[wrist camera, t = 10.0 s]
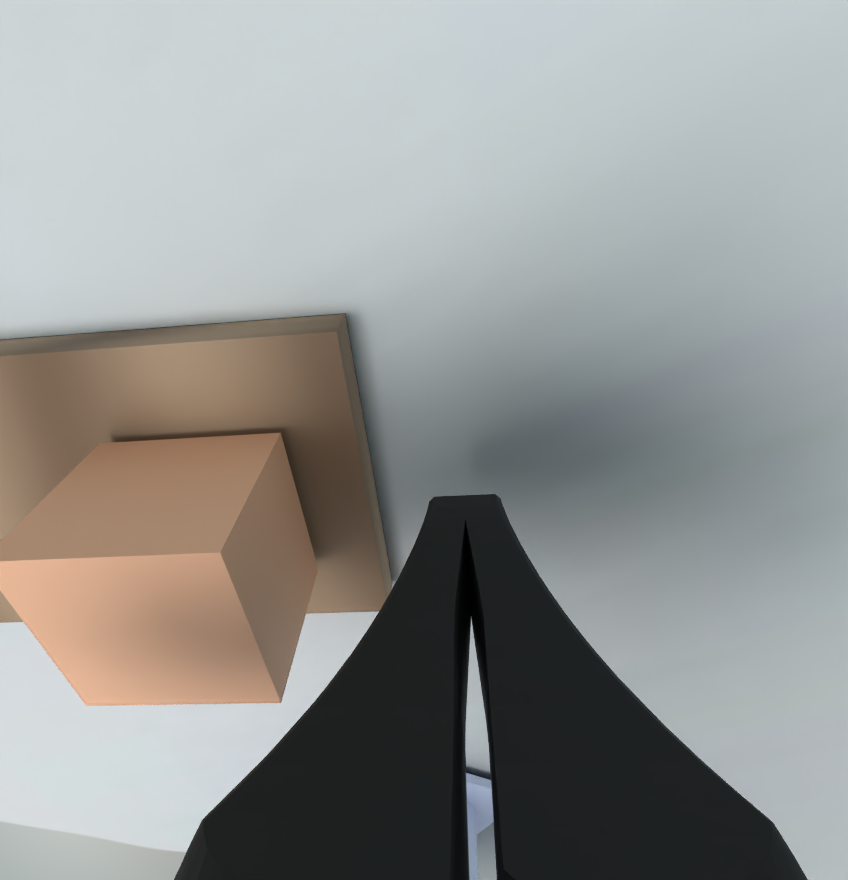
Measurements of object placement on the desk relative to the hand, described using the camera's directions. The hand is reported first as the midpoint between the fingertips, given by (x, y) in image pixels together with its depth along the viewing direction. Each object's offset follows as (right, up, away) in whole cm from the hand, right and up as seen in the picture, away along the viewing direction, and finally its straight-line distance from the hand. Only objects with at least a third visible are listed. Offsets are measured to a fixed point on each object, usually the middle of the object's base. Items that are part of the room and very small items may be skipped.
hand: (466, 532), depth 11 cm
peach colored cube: (-6, 0, +1) cm, 6 cm away
